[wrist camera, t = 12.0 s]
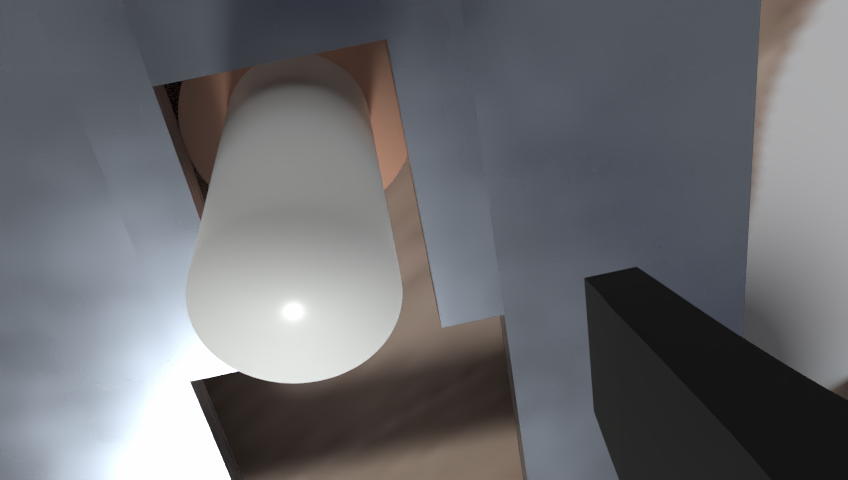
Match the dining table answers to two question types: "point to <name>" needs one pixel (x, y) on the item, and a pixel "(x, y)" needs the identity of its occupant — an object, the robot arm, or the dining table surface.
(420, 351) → the dining table surface
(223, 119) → the keyhole peg
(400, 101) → the keyhole plate
